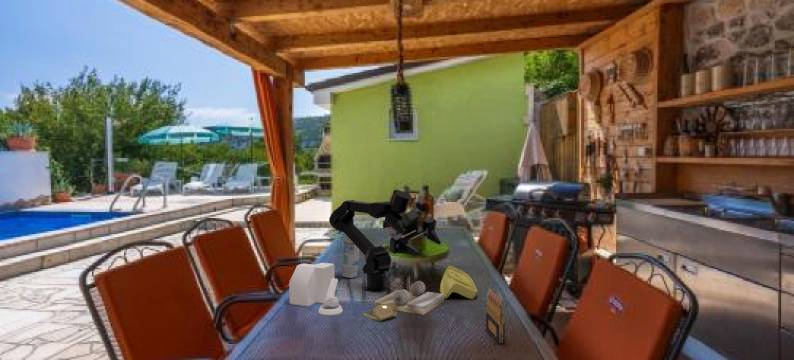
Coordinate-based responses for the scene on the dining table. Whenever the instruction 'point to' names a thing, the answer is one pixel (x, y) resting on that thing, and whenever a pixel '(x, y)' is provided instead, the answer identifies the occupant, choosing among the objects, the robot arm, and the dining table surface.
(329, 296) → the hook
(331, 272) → the white rounded block
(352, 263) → the spray paint can
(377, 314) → the brass cylinder with flap
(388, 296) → the hinge base
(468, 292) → the plastic component
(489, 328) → the ammunition clip
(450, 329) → the dining table surface
